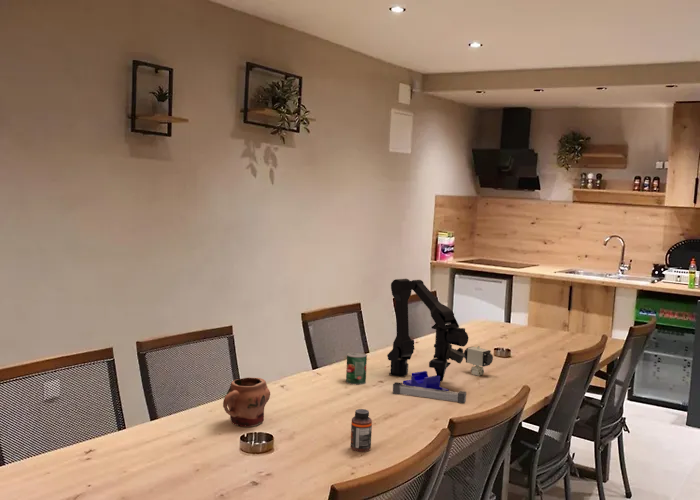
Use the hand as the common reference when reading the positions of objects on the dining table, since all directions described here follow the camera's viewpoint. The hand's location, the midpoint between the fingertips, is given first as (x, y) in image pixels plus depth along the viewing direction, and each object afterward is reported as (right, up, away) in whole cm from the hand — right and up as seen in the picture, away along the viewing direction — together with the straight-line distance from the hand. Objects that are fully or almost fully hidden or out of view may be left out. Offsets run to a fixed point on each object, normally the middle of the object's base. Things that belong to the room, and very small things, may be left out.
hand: (441, 381), depth 270 cm
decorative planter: (-68, -4, -50) cm, 85 cm away
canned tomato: (-33, -1, +4) cm, 33 cm away
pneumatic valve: (+18, -2, +22) cm, 29 cm away
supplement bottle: (-32, -7, -68) cm, 75 cm away
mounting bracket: (-6, -3, -1) cm, 7 cm away
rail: (-6, -3, -13) cm, 15 cm away
